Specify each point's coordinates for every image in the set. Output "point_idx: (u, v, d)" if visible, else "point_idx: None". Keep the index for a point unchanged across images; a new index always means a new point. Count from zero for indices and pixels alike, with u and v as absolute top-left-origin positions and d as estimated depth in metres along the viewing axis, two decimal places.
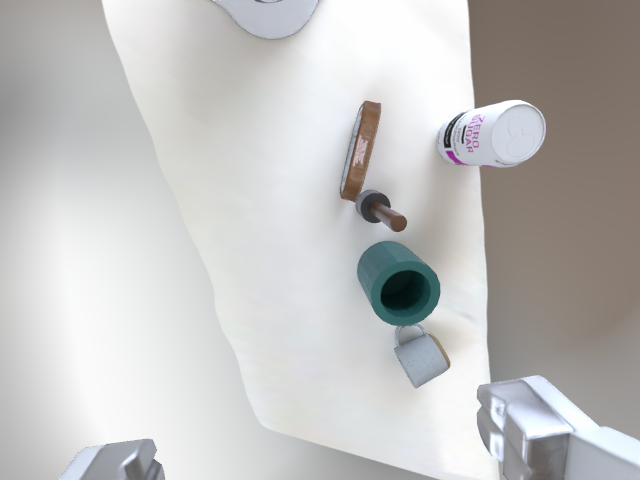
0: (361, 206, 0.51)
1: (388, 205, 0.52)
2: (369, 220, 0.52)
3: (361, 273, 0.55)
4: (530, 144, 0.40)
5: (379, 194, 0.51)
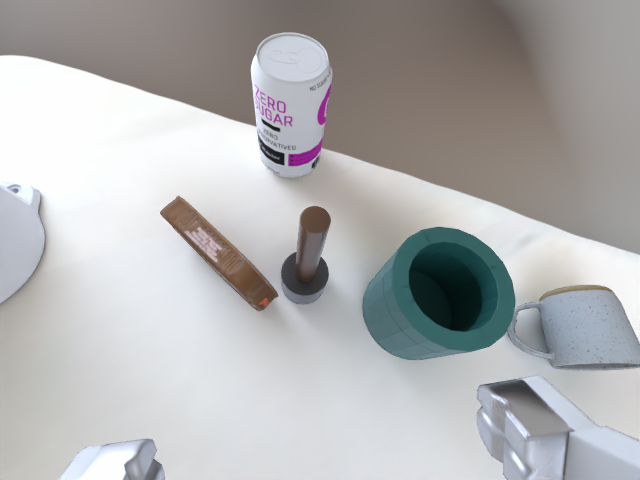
0: (291, 289, 0.33)
1: None
2: (318, 289, 0.33)
3: (394, 345, 0.32)
4: (313, 52, 0.31)
5: (289, 258, 0.34)
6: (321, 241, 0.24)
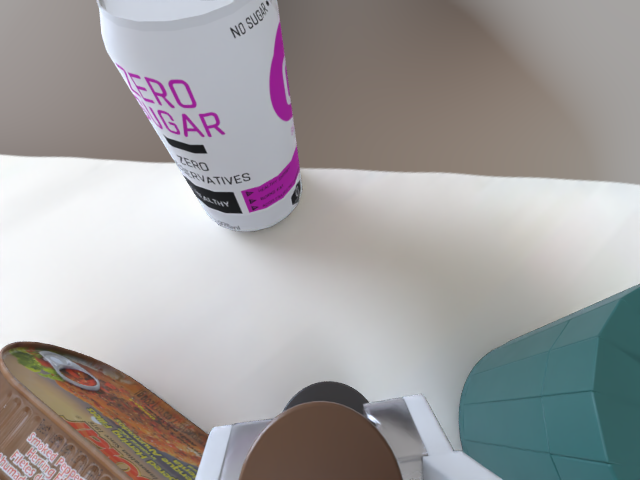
0: None
1: (333, 389, 0.16)
2: None
3: None
4: None
5: None
6: None
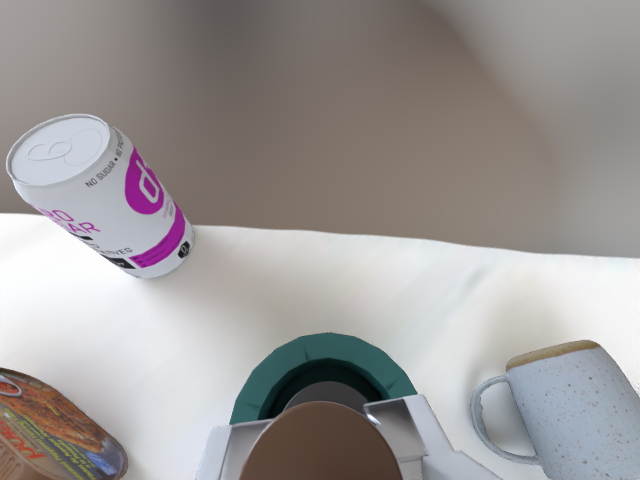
0: None
1: (333, 389, 0.15)
2: None
3: None
4: (92, 133, 0.23)
5: None
6: None
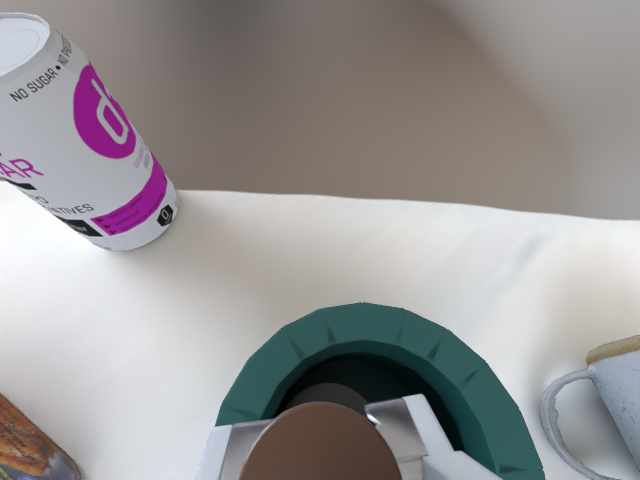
0: None
1: (333, 389, 0.15)
2: None
3: None
4: (27, 34, 0.17)
5: None
6: None
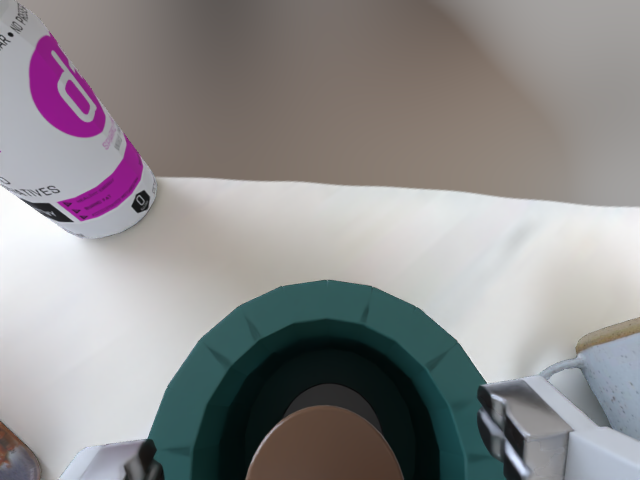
0: None
1: (334, 390, 0.16)
2: None
3: None
4: None
5: (289, 413, 0.15)
6: None
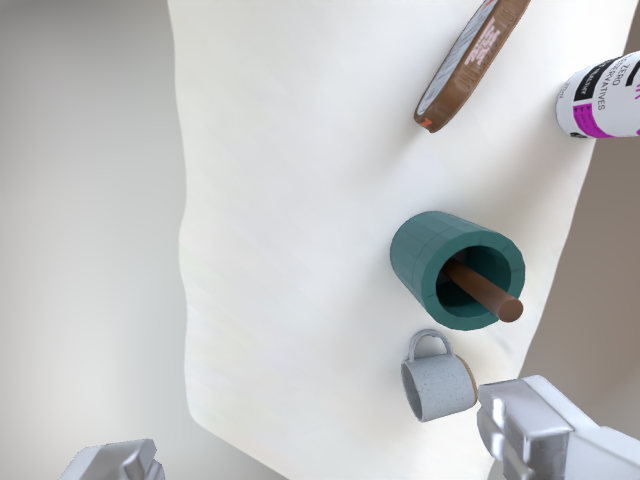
0: None
1: None
2: None
3: (403, 242, 0.38)
4: None
5: None
6: (488, 309, 0.28)
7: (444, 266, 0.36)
